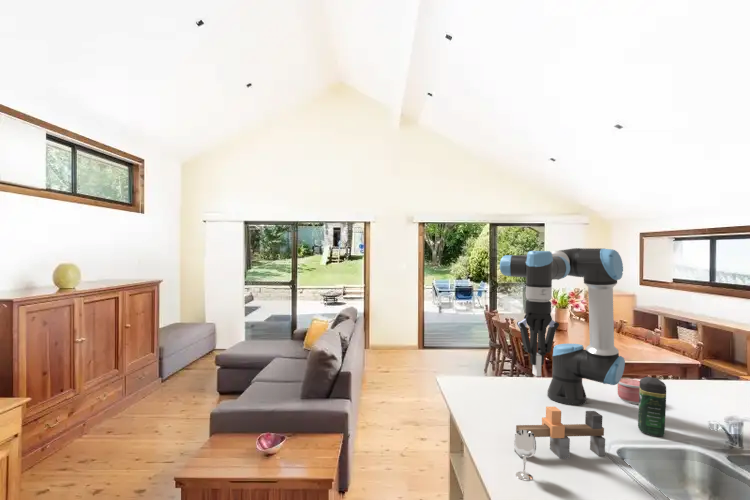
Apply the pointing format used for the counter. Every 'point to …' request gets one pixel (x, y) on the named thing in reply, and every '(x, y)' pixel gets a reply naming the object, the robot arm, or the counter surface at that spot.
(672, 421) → the counter surface
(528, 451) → the wineglass
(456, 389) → the counter surface
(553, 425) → the rider
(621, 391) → the container
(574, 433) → the beam
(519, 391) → the counter surface
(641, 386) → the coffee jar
